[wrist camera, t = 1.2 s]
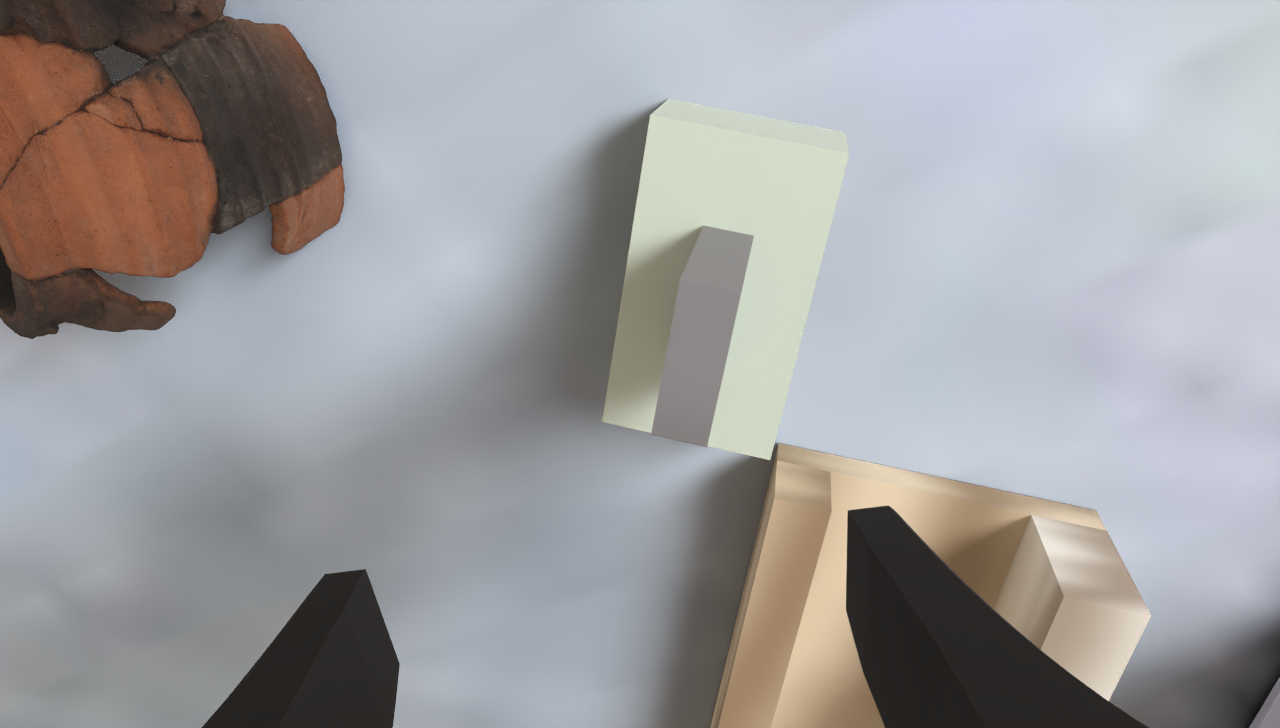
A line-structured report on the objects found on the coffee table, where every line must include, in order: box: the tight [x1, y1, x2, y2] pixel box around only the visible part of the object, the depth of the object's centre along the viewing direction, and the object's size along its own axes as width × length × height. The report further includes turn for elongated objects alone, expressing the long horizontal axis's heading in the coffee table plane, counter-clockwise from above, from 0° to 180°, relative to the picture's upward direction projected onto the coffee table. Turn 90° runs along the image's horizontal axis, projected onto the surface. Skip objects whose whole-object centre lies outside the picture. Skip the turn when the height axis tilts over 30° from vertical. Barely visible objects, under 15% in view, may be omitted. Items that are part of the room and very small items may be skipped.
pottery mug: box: [0, 0, 345, 339], centre depth 22 cm, size 12×10×8 cm
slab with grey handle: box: [602, 99, 849, 460], centre depth 21 cm, size 4×8×7 cm, turn 171°
